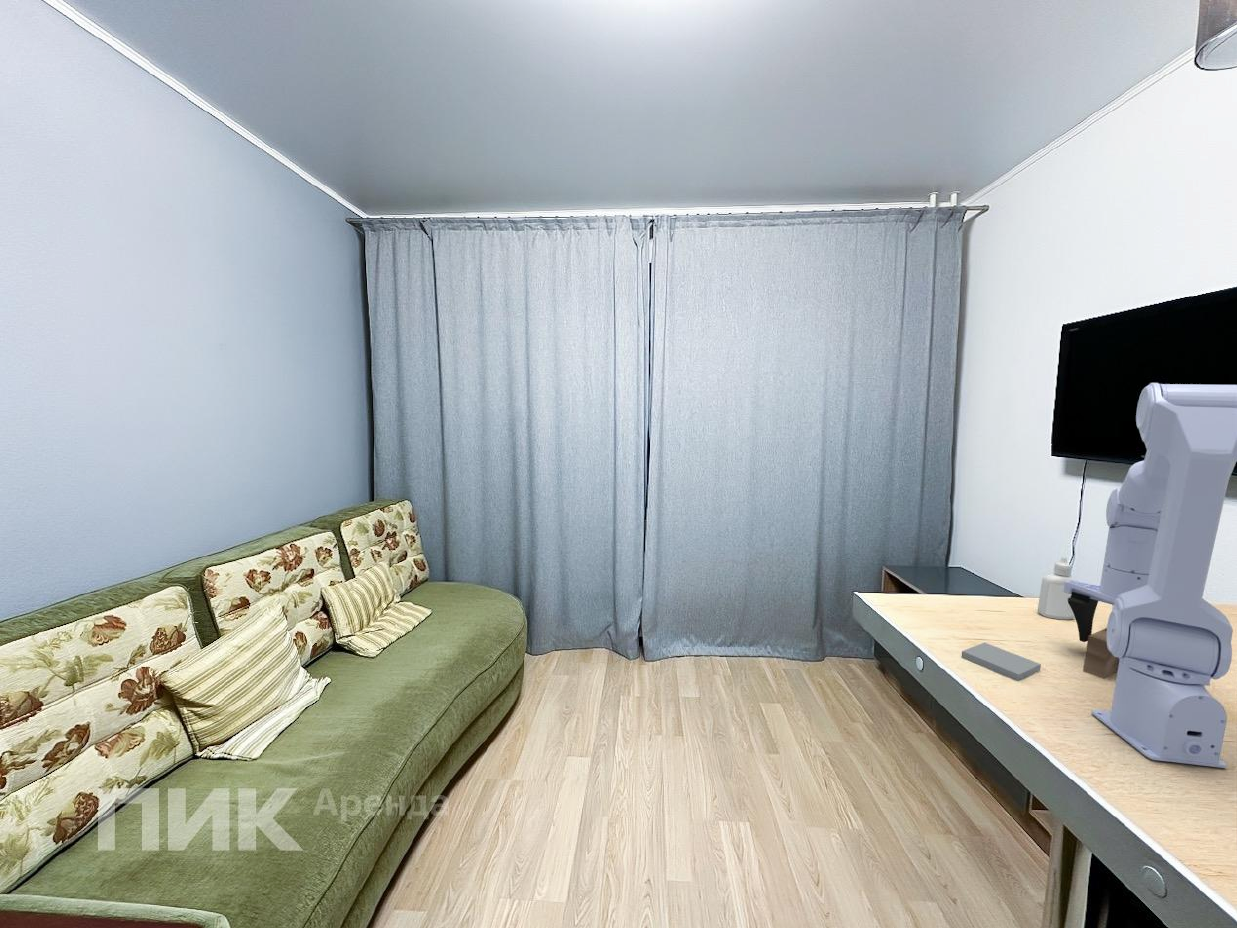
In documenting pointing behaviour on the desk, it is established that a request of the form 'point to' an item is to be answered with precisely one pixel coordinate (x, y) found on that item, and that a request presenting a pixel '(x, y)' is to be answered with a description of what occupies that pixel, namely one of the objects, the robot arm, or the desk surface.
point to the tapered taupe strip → (1099, 656)
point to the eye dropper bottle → (1056, 593)
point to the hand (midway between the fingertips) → (1114, 650)
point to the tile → (1001, 661)
